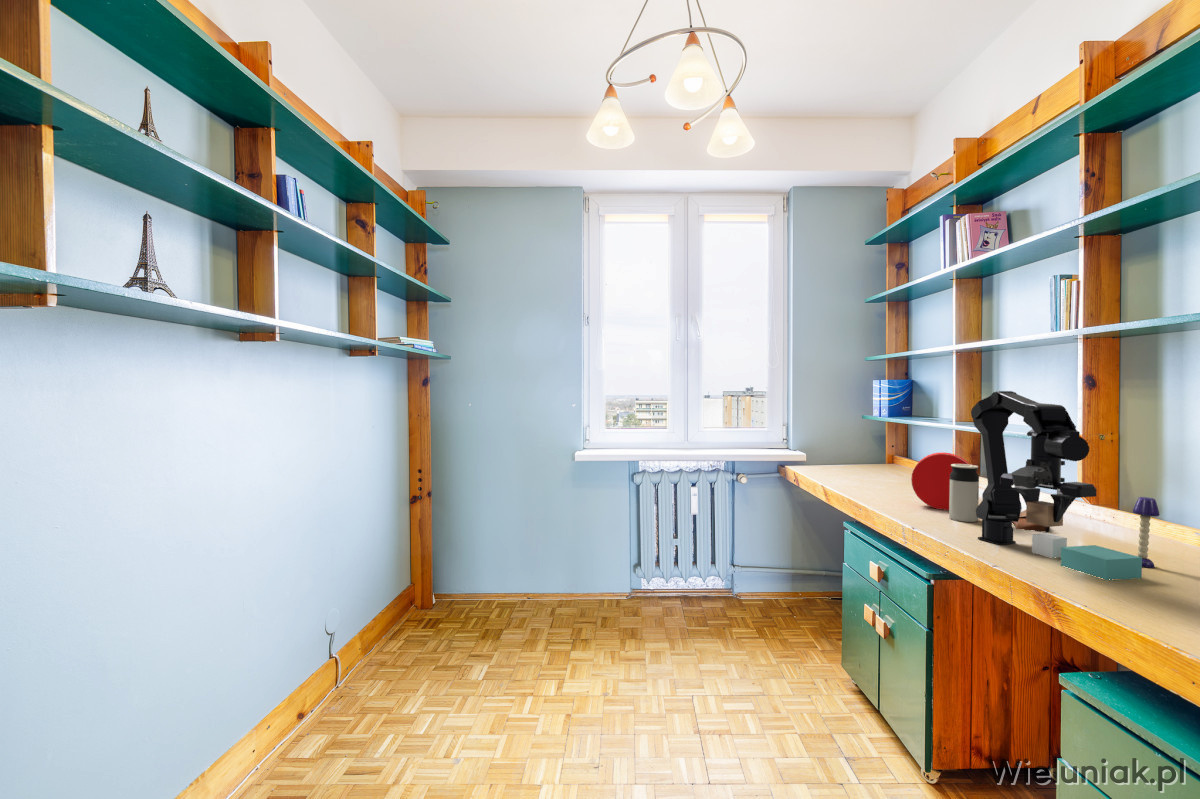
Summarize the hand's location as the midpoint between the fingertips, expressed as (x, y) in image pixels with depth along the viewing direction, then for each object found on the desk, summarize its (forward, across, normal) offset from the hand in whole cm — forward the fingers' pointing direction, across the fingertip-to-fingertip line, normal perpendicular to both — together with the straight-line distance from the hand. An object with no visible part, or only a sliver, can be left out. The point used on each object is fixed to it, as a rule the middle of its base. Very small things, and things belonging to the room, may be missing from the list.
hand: (1044, 519), depth 133 cm
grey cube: (+11, -6, +10) cm, 16 cm away
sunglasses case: (+12, -31, +37) cm, 50 cm away
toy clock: (+11, -56, +32) cm, 66 cm away
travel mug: (+11, -41, +23) cm, 48 cm away
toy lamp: (+11, +7, +24) cm, 27 cm away
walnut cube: (+1, 0, 0) cm, 1 cm away
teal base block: (+12, +7, +8) cm, 16 cm away
